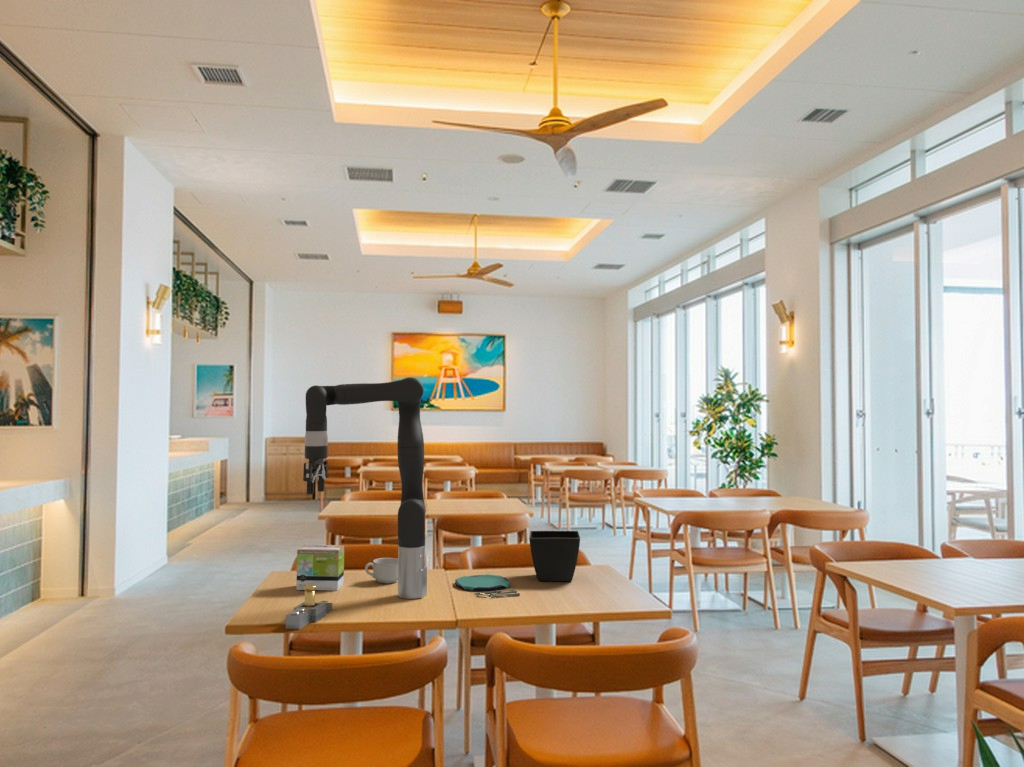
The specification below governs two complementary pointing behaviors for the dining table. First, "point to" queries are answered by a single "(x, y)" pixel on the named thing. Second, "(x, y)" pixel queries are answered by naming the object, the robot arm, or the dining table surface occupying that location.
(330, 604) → the grey studded bar
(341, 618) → the dining table surface
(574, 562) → the flower pot
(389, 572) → the teacup
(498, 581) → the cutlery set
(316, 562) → the tea box
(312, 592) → the pin
